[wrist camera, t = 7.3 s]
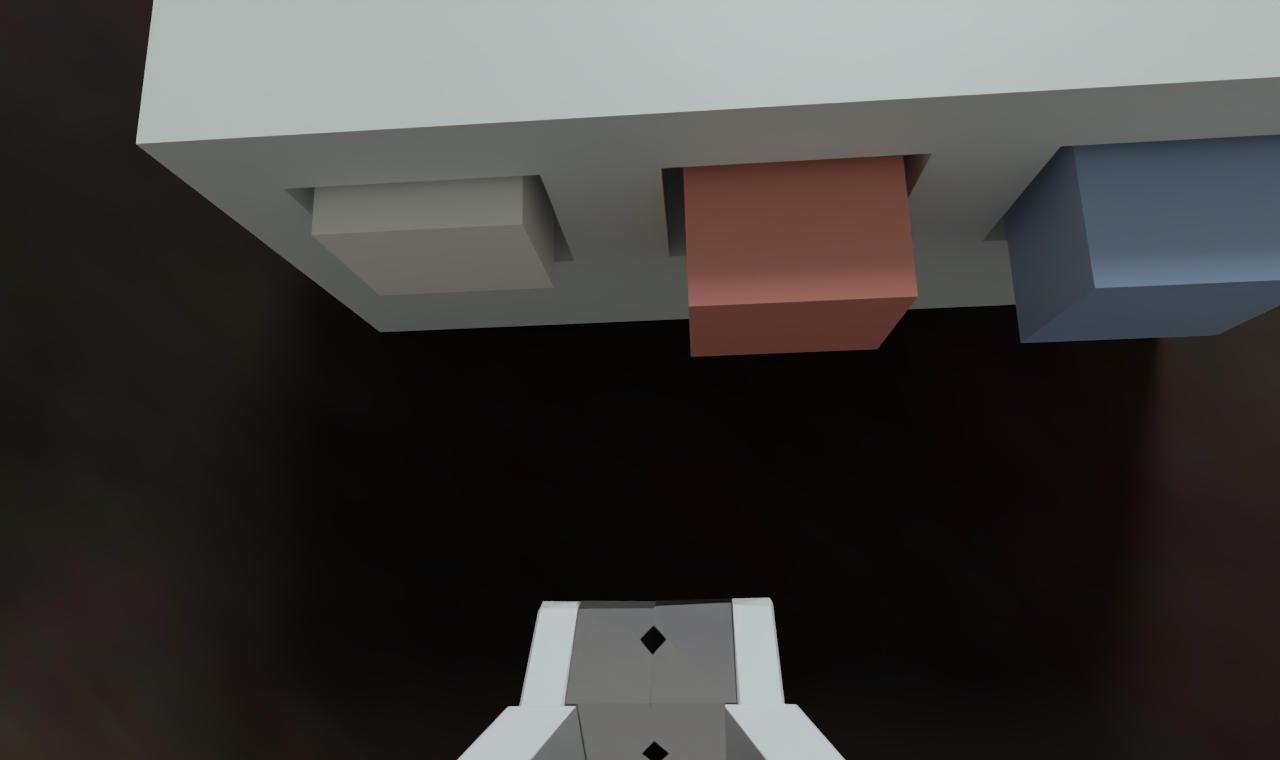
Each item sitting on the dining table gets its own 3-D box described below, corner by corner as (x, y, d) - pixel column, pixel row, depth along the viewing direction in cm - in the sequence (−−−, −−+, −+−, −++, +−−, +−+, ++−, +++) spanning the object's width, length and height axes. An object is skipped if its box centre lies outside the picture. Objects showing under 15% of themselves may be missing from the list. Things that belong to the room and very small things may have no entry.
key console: (380, 332, 25) (135, 143, 14) (395, 30, 27) (194, -329, 16) (1163, 298, 23) (1553, 60, 13) (1108, -17, 26) (1400, -443, 15)
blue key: (1020, 343, 18) (1094, 288, 15) (1003, 212, 19) (1070, 130, 15) (1216, 335, 18) (1338, 277, 14) (1191, 202, 18) (1302, 117, 15)
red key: (691, 357, 18) (688, 306, 15) (686, 228, 19) (682, 152, 16) (877, 349, 18) (918, 296, 15) (865, 219, 19) (901, 140, 16)
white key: (380, 295, 19) (311, 234, 16) (385, 174, 20) (321, 91, 17) (554, 287, 19) (522, 224, 16) (554, 165, 20) (523, 79, 16)
